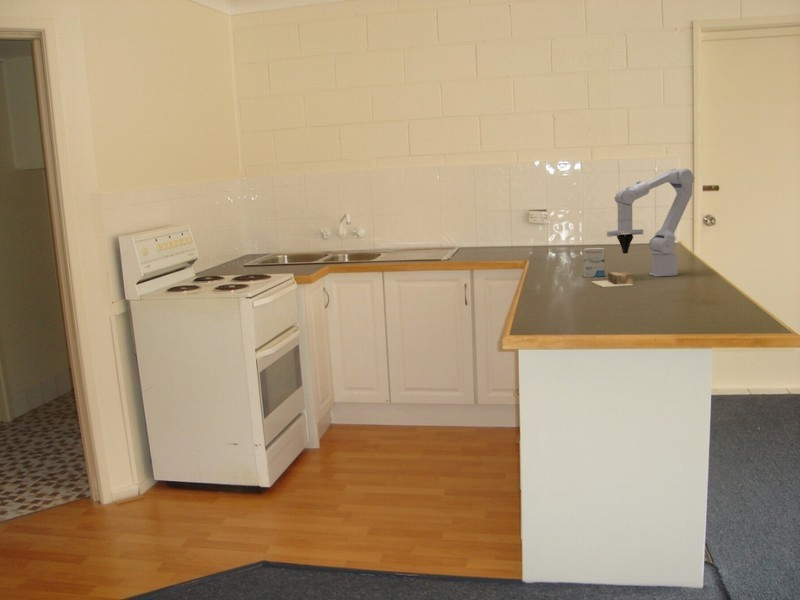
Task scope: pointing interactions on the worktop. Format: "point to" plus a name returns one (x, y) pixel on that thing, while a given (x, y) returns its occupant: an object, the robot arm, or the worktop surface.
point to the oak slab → (620, 278)
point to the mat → (609, 284)
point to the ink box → (594, 262)
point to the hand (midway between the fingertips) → (625, 253)
